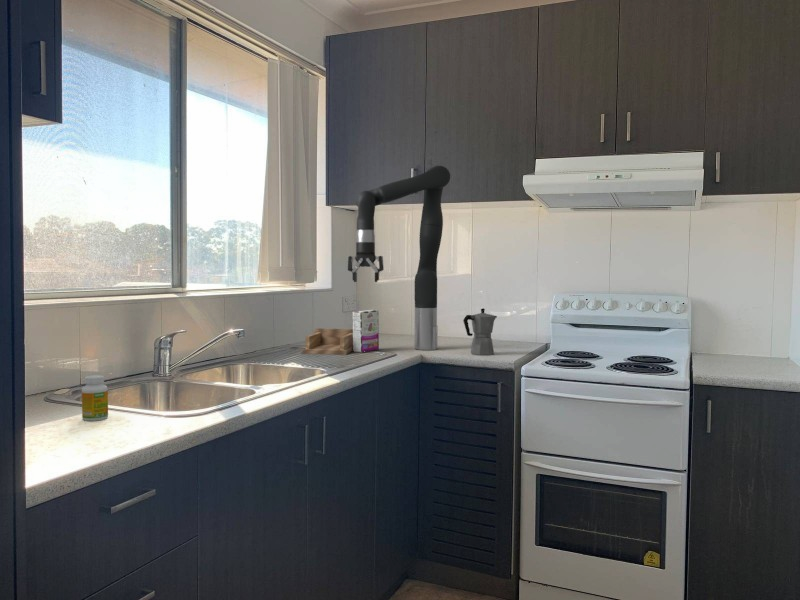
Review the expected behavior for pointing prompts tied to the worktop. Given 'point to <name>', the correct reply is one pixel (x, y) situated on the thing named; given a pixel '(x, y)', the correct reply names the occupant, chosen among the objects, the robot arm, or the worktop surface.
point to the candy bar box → (365, 330)
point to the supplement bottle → (94, 399)
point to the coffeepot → (481, 332)
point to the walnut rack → (329, 341)
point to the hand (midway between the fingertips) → (365, 281)
